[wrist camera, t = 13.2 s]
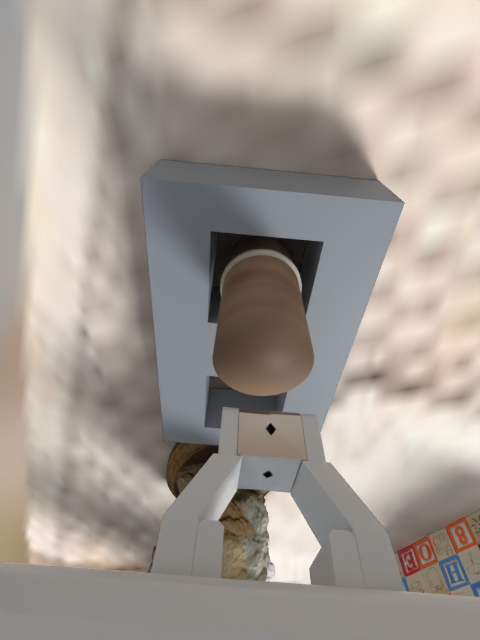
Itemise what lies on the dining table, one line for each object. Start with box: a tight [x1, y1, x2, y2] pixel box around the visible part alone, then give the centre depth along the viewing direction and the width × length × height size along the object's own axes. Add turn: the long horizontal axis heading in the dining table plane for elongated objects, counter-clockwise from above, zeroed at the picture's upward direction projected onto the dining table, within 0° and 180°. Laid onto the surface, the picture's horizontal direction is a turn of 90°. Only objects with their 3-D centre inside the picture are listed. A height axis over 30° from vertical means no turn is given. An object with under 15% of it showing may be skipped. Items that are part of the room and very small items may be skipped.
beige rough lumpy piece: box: [148, 442, 270, 581], centre depth 29 cm, size 18×12×17 cm, turn 164°
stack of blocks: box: [395, 510, 480, 597], centre depth 41 cm, size 21×6×12 cm, turn 155°
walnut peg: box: [212, 235, 314, 396], centre depth 17 cm, size 4×4×10 cm
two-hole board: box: [141, 160, 404, 445], centre depth 23 cm, size 20×12×4 cm, turn 175°
